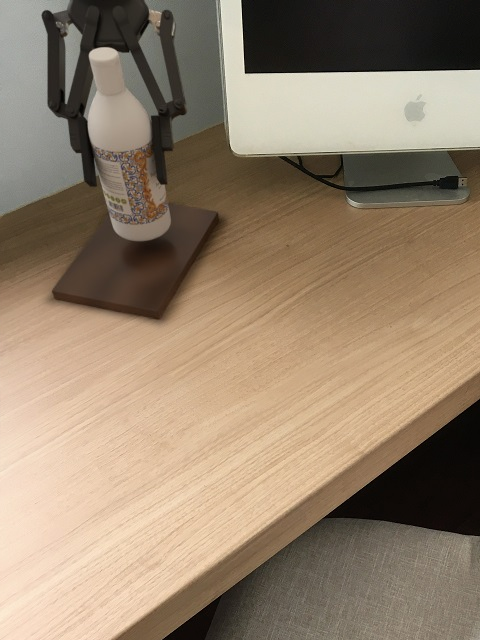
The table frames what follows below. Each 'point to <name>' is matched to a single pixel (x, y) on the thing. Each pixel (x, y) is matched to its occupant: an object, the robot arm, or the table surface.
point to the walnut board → (136, 265)
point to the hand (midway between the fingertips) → (126, 182)
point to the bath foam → (125, 153)
